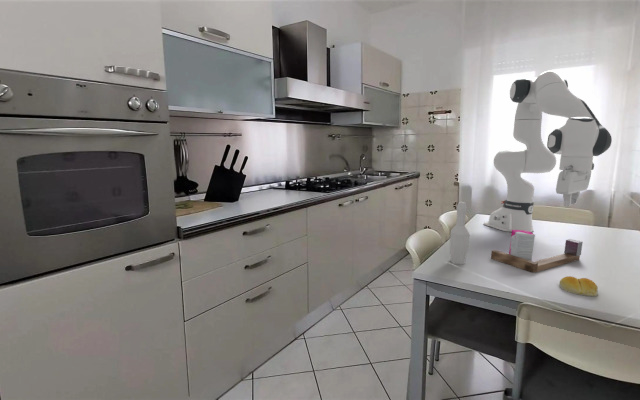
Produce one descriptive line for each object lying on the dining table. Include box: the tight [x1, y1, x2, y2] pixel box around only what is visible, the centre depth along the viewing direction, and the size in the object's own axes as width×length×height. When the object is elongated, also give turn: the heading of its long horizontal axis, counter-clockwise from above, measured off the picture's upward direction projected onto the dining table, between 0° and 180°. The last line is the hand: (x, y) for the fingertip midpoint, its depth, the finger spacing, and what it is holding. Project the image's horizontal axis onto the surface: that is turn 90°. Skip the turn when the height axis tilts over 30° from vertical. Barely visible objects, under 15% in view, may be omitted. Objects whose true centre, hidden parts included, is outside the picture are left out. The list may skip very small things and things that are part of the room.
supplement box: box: [508, 230, 536, 261], centre depth 120 cm, size 6×6×12 cm
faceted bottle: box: [449, 201, 470, 265], centre depth 119 cm, size 6×6×22 cm
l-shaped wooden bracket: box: [490, 238, 583, 273], centre depth 123 cm, size 16×28×7 cm, turn 117°
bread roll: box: [558, 276, 599, 297], centre depth 98 cm, size 8×9×4 cm
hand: (570, 204), depth 118 cm, fingers open, 4 cm apart
